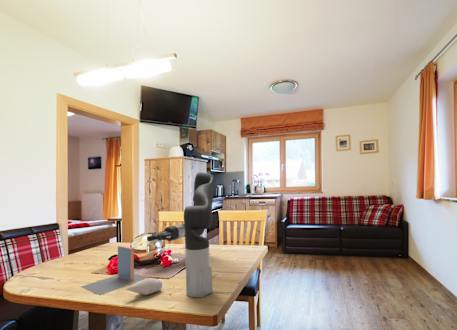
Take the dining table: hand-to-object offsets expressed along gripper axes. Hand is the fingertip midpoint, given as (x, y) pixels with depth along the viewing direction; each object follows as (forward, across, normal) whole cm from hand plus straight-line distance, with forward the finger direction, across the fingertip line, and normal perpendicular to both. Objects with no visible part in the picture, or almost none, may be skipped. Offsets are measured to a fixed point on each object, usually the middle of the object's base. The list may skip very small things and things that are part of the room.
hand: (148, 239), depth 131 cm
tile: (+12, 0, +15) cm, 19 cm away
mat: (+17, 0, +16) cm, 23 cm away
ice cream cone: (+18, +22, +16) cm, 33 cm away
